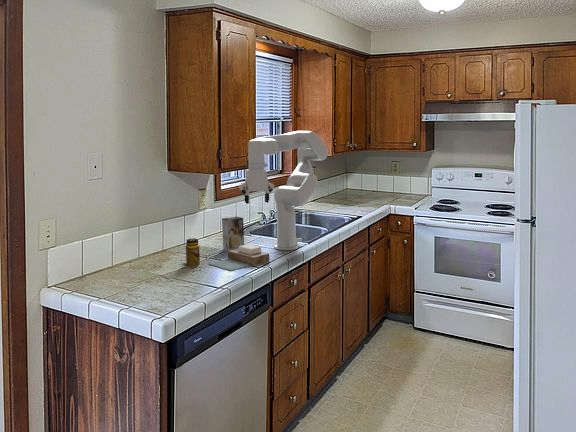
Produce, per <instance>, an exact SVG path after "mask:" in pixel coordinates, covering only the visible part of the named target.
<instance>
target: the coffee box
mask: <svg viewBox="0 0 576 432" xmlns="http://www.w3.org/2000/svg"><path fill="white" fill-rule="evenodd" d="M221 226H222V246H223V247H222V249H223V250H225V251H227V252H228V251H230V250H234V249H239V246H242V245H245V231H244V230H245V229H244V218H243V217H242V216H241V217H240V216H230V217H223V218H222V217H221Z"/></svg>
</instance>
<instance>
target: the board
mask: <svg viewBox="0 0 576 432" xmlns="http://www.w3.org/2000/svg"><path fill="white" fill-rule="evenodd" d="M227 259H231V260H235V261H238V262H242V263H246V264H249V265H251V266H250V267H256V266H260V265H263V264H266V263H270V252H269V253H268V252H266V251H261V252H260V253H256V254H252V255H251V254H247V253H243V252H239V249H234V250H230V251H227ZM255 265H256V266H255Z"/></svg>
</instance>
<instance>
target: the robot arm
mask: <svg viewBox="0 0 576 432" xmlns="http://www.w3.org/2000/svg"><path fill="white" fill-rule="evenodd" d="M247 144H248V145H247V147H248V148H247V151H248V169H246V170H245V171H246V173H245V182H244V183H241V184H239V186H238V188H239V191H240V192H241V193H242V195H244V202H245V204H246V205H249V204H250V195H249V194H250V192H262V191H263V192H265V194H264V202H265V203H270V202H269V201H270V195H271V193H272V192H273V190H274V188H275V184H274V183H272V182H270V181H269V179H268V172H267V169H266V167H268V163H266V161H265V159H266V158H265V157H266V156H273V155H276V154H277V153H278V152H279V153H281V152H288V151H291V150H296V149H297V151H296V152H297V166H296V167H295V169H294V170H293V171H292V173H290V175H289V177H288V178H287V181H286V185H282V186H281V185H280V186H279V187H277V188H276V189H275V190H274V201H275V207H276V209H275V210H276V244H274V245H273V248H274V249H275V250H279V251H294V250H297V249H299V248H300V245H299V244H298V243H300V242H302V241H303V238H302V237H296V236H297V235H296V229H297V227H296V223H297V221H296V211H295V208H294V207H303V206H305V205H306V204H307V203H308V201H309V200H310V199H311V197H313V195H314V193H315V191H316V190H317V188H318V184H319V182H318V177H317V176H316V175H315V174H314V173H313V167H312V165H311V161H317V162H318V161H320V162H322V161H324V160H326V159H327V158H328V155H329V150H328V147H327V145H326V144H325V142H324V141H323V140H322V138H321V137H320V136H319V135H318V134H317V133H316V132H314V131H312V130H296V131H291V132H287V133H283V134H275V135H268V136H261V137H256V138H254V139H250V140H249V141H248V143H247ZM269 186H270V188H269ZM244 189H245V190H244Z"/></svg>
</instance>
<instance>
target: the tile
mask: <svg viewBox="0 0 576 432" xmlns="http://www.w3.org/2000/svg"><path fill="white" fill-rule="evenodd" d="M239 252H243V253H247V254H251V255H252V254H256V253H260V252H262V247H261V246H258V245H255V244H250V243H247V244H244V245H242V246H239Z"/></svg>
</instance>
